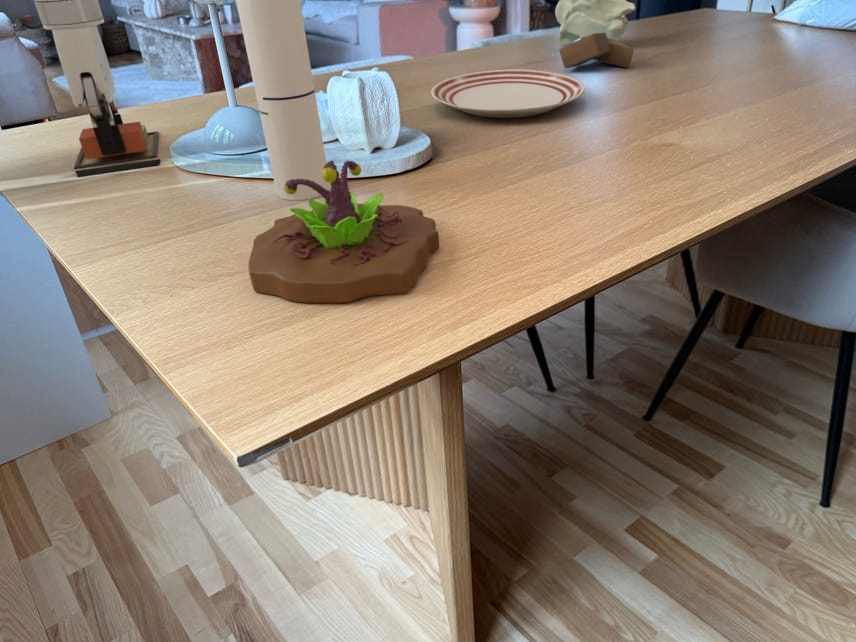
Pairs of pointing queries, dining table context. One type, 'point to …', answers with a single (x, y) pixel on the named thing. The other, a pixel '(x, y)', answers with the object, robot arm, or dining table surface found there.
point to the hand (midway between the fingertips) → (115, 146)
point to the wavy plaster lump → (591, 18)
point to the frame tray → (118, 167)
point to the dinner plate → (507, 92)
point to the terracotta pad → (130, 136)
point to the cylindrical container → (284, 92)
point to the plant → (342, 246)
